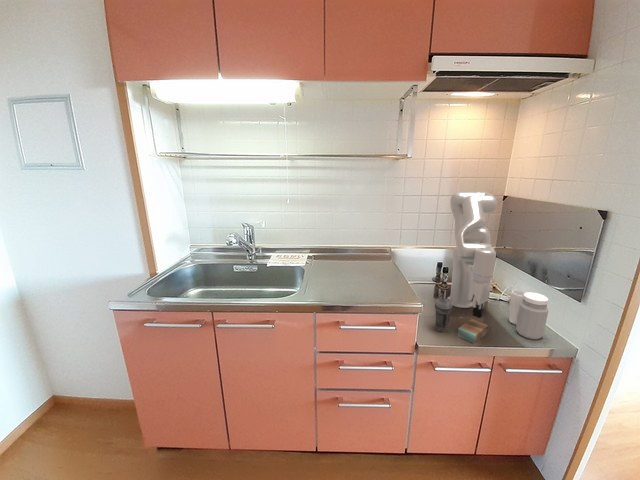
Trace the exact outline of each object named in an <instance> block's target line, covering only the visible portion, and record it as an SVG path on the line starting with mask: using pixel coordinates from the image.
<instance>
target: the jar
mask: <svg viewBox="0 0 640 480" xmlns="http://www.w3.org/2000/svg"><path fill="white" fill-rule="evenodd" d="M525 292H526V293H524V295H523V301H522V302H520V306H519V312H518V318H517V324H515V330H516V332H517V333H518V334H519V335H520V336H521V337H524V338H526V339H531V340H539V339H541V338H543V337H544V336H545V335H544V334H545V329H546V325H547V319H548V315H549V308H548V302H549V298H548V297H547V296H546V295H544V294H542V293H538V292H533V291H532V292H530V291H528V292H527V291H525Z"/></svg>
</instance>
